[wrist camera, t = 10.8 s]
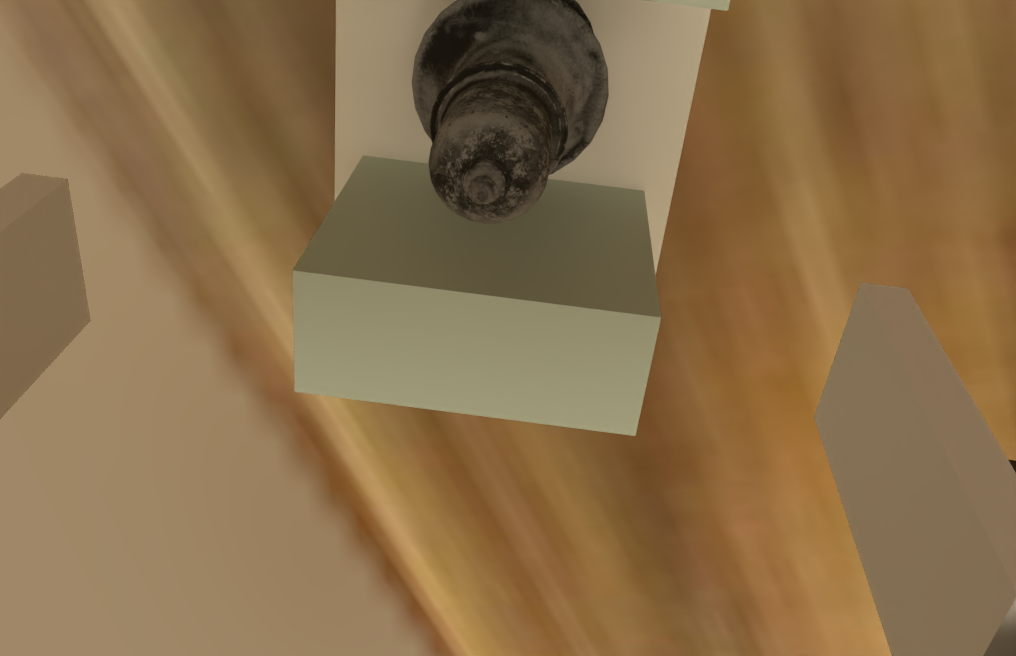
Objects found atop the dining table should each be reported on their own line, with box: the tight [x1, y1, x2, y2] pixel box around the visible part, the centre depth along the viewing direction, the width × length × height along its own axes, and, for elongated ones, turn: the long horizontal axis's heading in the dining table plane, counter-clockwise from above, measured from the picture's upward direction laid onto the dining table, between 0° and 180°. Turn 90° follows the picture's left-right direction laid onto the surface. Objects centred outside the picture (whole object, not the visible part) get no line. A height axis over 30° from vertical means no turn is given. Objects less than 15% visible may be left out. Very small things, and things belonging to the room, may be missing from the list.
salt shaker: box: [412, 0, 609, 224], centre depth 25 cm, size 6×6×12 cm
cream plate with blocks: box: [293, 0, 730, 436], centre depth 27 cm, size 17×12×10 cm
